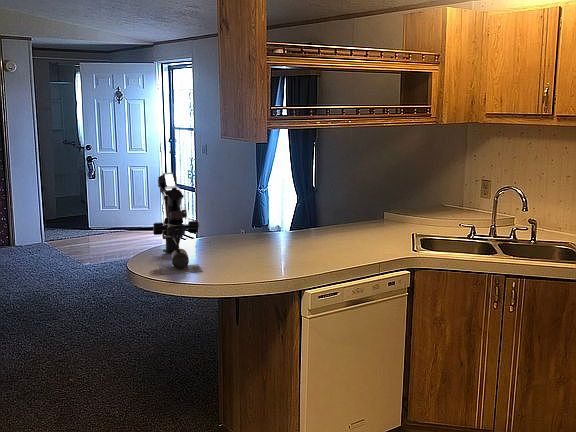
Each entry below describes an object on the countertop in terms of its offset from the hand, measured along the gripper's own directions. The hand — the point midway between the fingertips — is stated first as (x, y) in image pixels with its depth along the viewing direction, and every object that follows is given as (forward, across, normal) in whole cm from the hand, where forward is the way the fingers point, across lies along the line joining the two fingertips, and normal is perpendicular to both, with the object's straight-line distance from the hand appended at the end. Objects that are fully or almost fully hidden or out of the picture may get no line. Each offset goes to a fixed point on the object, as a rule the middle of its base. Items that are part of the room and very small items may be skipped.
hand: (177, 244), depth 261 cm
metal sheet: (+11, 0, 0) cm, 11 cm away
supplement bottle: (+3, +1, +4) cm, 5 cm away
